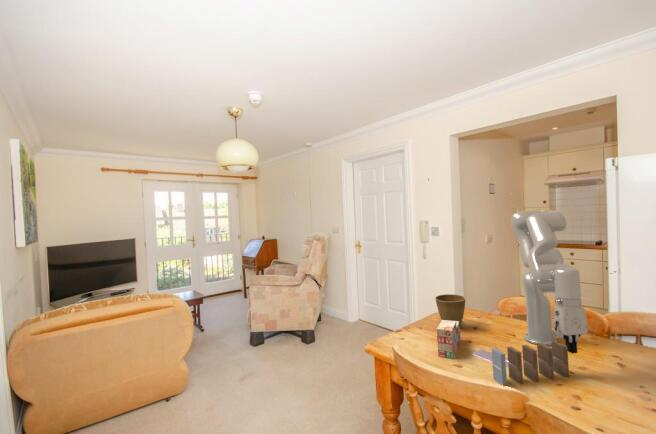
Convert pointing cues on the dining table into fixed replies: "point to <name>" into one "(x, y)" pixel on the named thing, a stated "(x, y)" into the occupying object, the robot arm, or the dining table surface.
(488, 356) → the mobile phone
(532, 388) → the dining table surface
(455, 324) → the colourful printed box
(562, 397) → the dining table surface
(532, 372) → the domino
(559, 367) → the domino
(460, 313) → the plant pot
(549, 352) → the domino
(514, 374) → the domino
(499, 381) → the domino
